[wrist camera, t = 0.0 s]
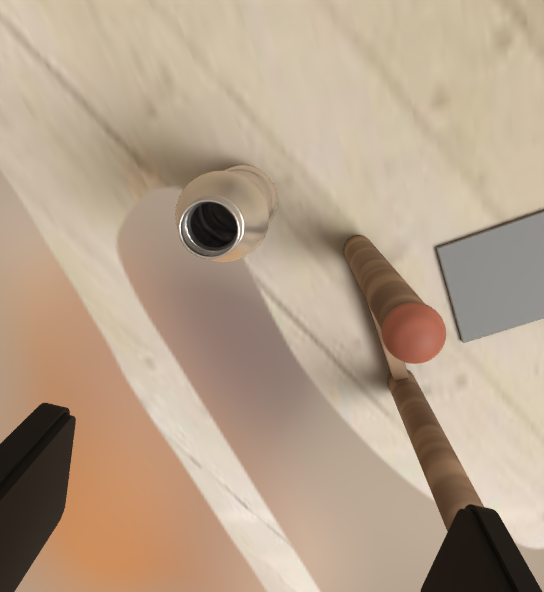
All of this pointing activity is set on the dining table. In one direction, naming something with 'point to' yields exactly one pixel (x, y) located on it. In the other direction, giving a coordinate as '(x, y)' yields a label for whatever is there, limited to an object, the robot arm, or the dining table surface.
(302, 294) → the dining table surface
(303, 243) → the dining table surface
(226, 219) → the silver metal bottle
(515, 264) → the mat
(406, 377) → the brown piece
